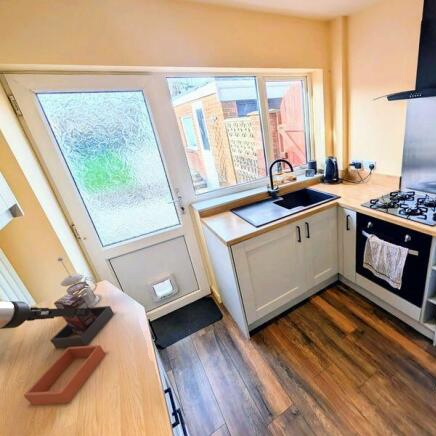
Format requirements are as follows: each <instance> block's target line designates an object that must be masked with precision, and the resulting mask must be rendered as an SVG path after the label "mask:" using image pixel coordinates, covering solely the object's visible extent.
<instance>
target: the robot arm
mask: <svg viewBox="0 0 436 436" xmlns="http://www.w3.org/2000/svg"><path fill="white" fill-rule="evenodd" d="M89 312H90V308H61V309H57V308H50V307H38V306H37V307H36V306H33V307H30V306H29V304H28V303H27V302H25V301H20V300H19V301H18V300H17V301H16V300H15V301H11V300H9V301H8V300H0V330H1V329H2V330H4V329H7V330H8V329H16V328H19V327H20V326H22V325H23V324H24V323H25V322H26V321H27V322H32V321H36V320H37V321H38V320H47V319H48V320H50V319H55V318H63V317H64V316H70V317H72V318H74V317H76V316H89Z"/></svg>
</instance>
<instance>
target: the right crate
mask: <svg viewBox="0 0 436 436" xmlns="http://www.w3.org/2000/svg"><path fill="white" fill-rule="evenodd" d="M89 308H90V310H91V312H92V314H93V315H94V317H95V319H96V320H95V321H94V322H93V323H92V324H91V325H90V326H89V327H88V328H87V330H86V331H85V332H84V333H83V334H80V336H72V335H73V334H74V333H73V331H72V330H71V328H70V327H69V325H68V324H67V323H65V325H64V326H62V328H61V329H60V330H59V331H57V333H55V335H54V336H52V338H51V339H50V340H49V342H50V343H51V344H52V345H53V347H54V348H55V350H57V349H67V348H68V347H79V346H89V344H90V343H91V342H92V341H93V339H94V338H95V337H96V336H97V335H98V334H99V332H100V331H101V330H102V329H103V328H104V326H105V325H107V324H108V322H109V321H110V320H111V318H112V317H113V316H114V315H115V313H114V310H113V309H112V307H111V306H110V305H105V306H104V305H103V306H92V307H89ZM96 317H97V318H96Z"/></svg>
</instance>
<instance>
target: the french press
mask: <svg viewBox="0 0 436 436" xmlns="http://www.w3.org/2000/svg"><path fill="white" fill-rule="evenodd" d="M64 259H65V258H64V257H62V256H60V257H58V258H57V259H56V260H57V261H58V262H61V263H62V265H63V267H64V268H65V270H66V272H67V274H68V275H69V276H67V277H64V279H63V280H62V281H60V286H61V287H67V289H66V292H67V295H70V296H77V297H83V298H84V300H85V302H86V304H87V305H88V307H94V306H95V305H96V304H97V303H99V301H100V297H99V296H98V295H96V294H95V291H96V289H97V287H98V283H97V280H95V279H94V278H93V277H88V276H86V277H84V273H74V274H70V272H69V270H68V269H67V267H66V266H65V264H64V262H63V261H64ZM82 279H84V280H83V281H82ZM87 281H91V282H92V283H93V284H94V286H95V287H94V288H93V289H92V288H91V286H90V284H89V283H87Z"/></svg>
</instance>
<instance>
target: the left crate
mask: <svg viewBox="0 0 436 436" xmlns="http://www.w3.org/2000/svg"><path fill="white" fill-rule="evenodd" d="M105 355H106V352H105V351H104V349H103V347H102V346H101V345H100V344H97V345H87V346H79V347H68V348H65V350H64V351H63V352H62V353H61V354H60V355H59V356H58V358H57V359H55V361H54V362H53V363H52V364H51V365H50V366H49V367H48V368H47V369H46V371H45V372H43V374H42V375H41V376H40V377H39V378H38V379H37V380H36V381H35V382H34V383H33V384H32V385H31V386H30V387H29V388H28V389H27V391H26V392H25V393H24V394H23V397H24V398H25V399H26V401H27V402H29V404H31V405H33V406H34V405H49V404H50V405H51V404H52V405H53V404H69V403H70V402H71V400H72V399H73V398H74V397H75V395H76V394H77V393H78V392H79V390H80V388H81V387H82V386H83V385H84V383H85V382H86V380H87V379H88V378H89V377H90V375H91V374H92V372H93V371H94V370H95V369H96V367H97V366H98V364H99V363H100V362H101V361H102V359H103V358H104V357H105ZM76 358H86V359H85V360H84V362H83V363H82V364H81V365H80V367H79V368H78V369H77V371H75V373H74V374H73V375H72V376H71V378H70V379H69V380H68V382H67V383H66V384H65V386H64V387H62V388H61V389H60V390H53V391H52V390H50V391H47V390H48V389H49V388H50V387H51V386H52V384H54V382H55V381H56V380H57V379H58V377H59V376H60V375H61V374H62V373H63V372H64V371H65V369H66V368H67V367H68V366H69V365H70V364H71V362H72V361H74V359H76Z"/></svg>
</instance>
